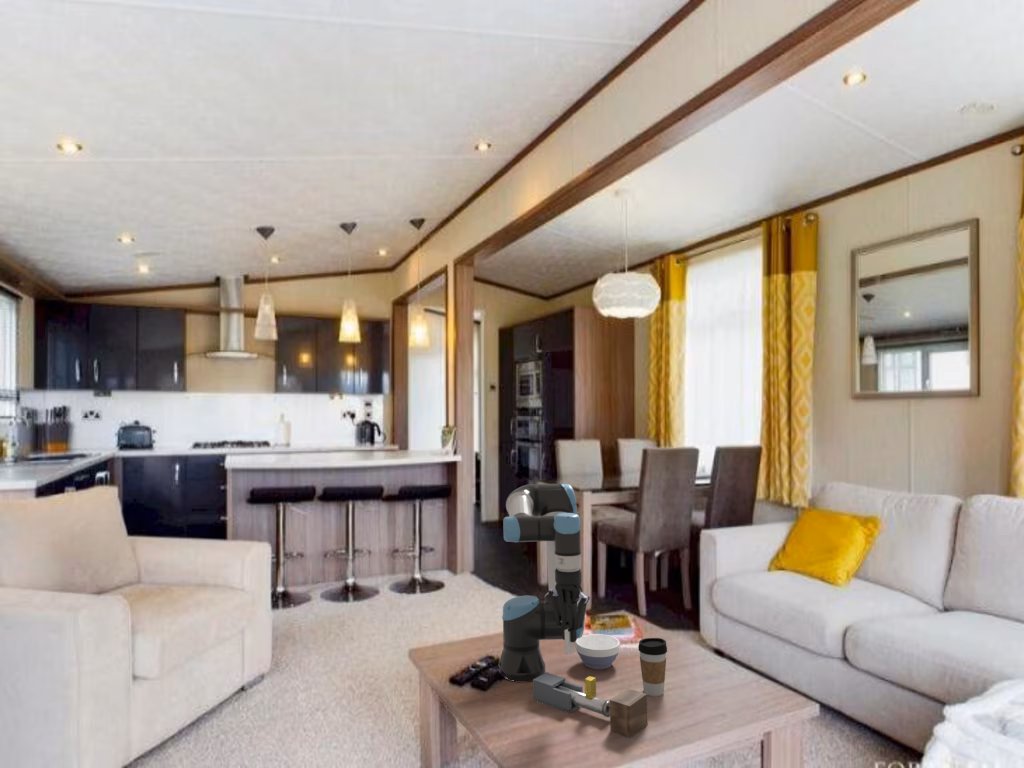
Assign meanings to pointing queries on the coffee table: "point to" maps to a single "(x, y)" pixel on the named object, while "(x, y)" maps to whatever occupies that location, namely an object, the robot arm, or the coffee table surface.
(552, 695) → the sleeve
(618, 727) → the socket
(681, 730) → the coffee table surface
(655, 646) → the coffee cup
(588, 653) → the bowl
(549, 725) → the coffee table surface
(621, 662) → the coffee table surface
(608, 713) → the tube
